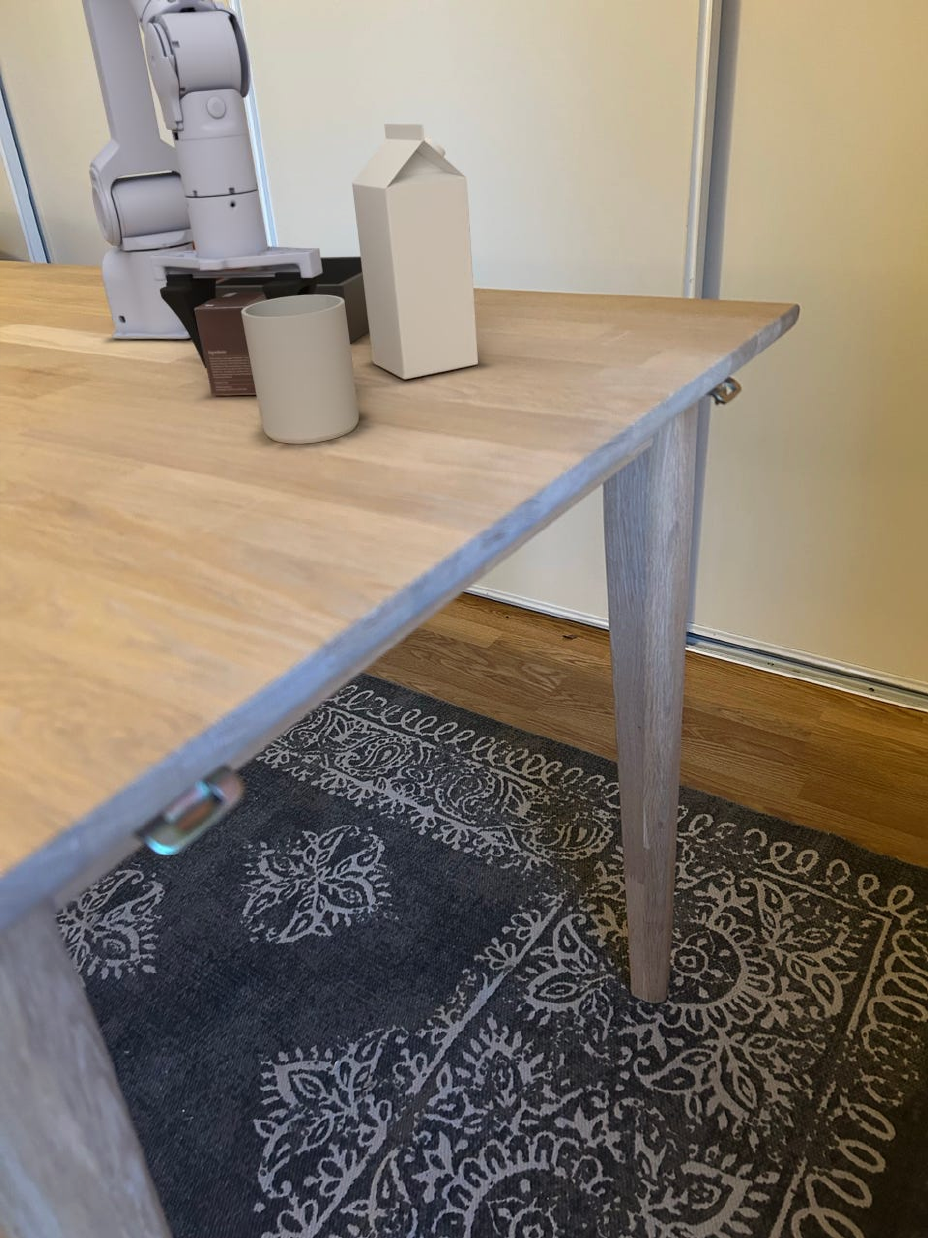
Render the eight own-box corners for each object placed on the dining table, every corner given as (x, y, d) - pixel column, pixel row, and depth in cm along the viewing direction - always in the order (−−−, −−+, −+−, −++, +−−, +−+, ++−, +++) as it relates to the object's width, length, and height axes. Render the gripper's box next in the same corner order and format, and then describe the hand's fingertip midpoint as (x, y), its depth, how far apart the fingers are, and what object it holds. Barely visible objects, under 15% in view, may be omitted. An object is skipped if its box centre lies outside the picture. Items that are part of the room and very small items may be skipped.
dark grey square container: (211, 343, 97) (199, 287, 94) (279, 308, 110) (271, 258, 107) (350, 343, 92) (343, 285, 90) (405, 307, 105) (400, 255, 102)
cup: (278, 452, 67) (255, 323, 62) (245, 415, 75) (222, 299, 70) (373, 431, 69) (358, 305, 64) (331, 398, 77) (315, 284, 72)
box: (276, 396, 79) (261, 305, 75) (210, 397, 80) (191, 308, 76) (302, 375, 84) (288, 289, 80) (239, 376, 85) (222, 291, 81)
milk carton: (404, 381, 80) (379, 128, 70) (372, 364, 85) (344, 127, 76) (479, 366, 82) (464, 120, 73) (443, 350, 88) (424, 119, 78)
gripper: (113, 203, 73) (154, 377, 80) (282, 195, 69) (310, 380, 75) (163, 191, 79) (198, 355, 85) (322, 183, 74) (345, 356, 81)
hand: (253, 365), depth 81 cm, fingers open, 7 cm apart
